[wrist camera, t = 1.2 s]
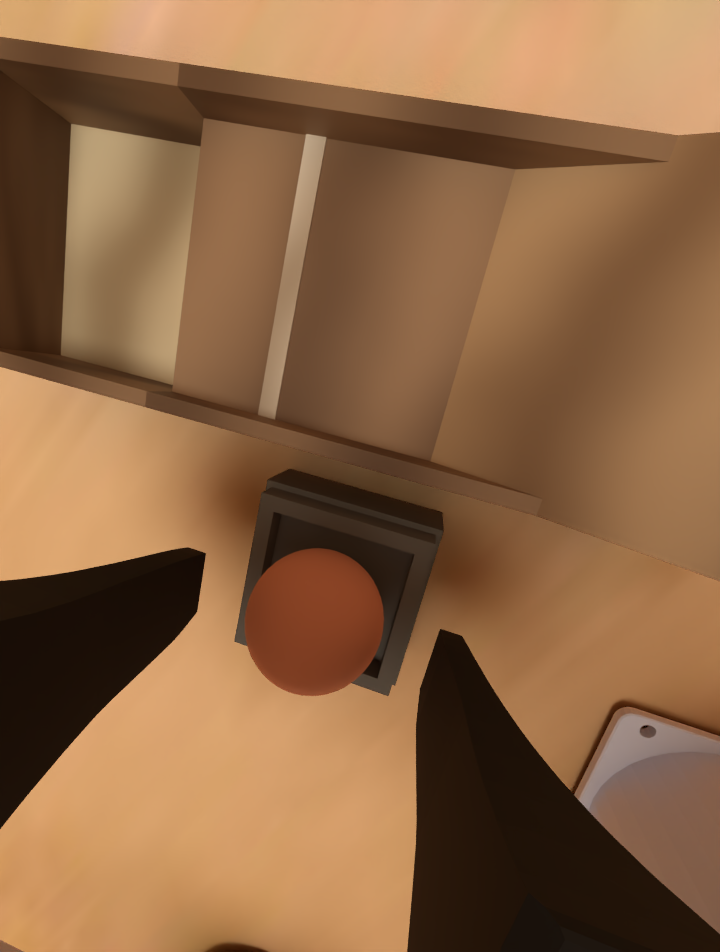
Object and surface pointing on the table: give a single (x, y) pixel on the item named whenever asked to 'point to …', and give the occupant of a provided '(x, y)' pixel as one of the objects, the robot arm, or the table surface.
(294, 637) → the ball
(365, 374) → the lane
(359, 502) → the grey square tray
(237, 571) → the table surface
